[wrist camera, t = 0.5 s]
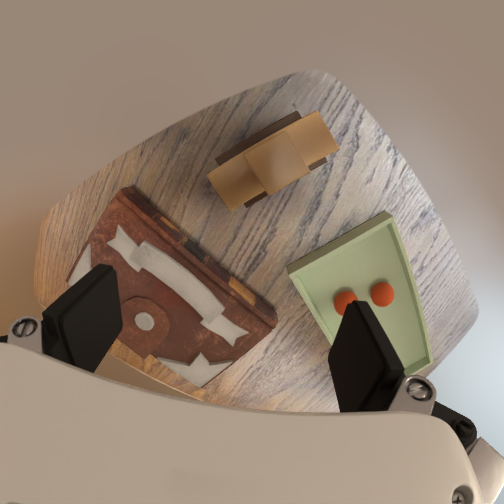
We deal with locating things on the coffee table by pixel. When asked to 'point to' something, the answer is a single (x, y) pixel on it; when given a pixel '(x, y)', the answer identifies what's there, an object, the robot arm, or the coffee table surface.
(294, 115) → the stand
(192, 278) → the book
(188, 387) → the coffee table surface
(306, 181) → the coffee table surface
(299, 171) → the wooden block
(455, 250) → the coffee table surface
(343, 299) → the orange-red sphere
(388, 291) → the orange ball
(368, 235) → the tray
